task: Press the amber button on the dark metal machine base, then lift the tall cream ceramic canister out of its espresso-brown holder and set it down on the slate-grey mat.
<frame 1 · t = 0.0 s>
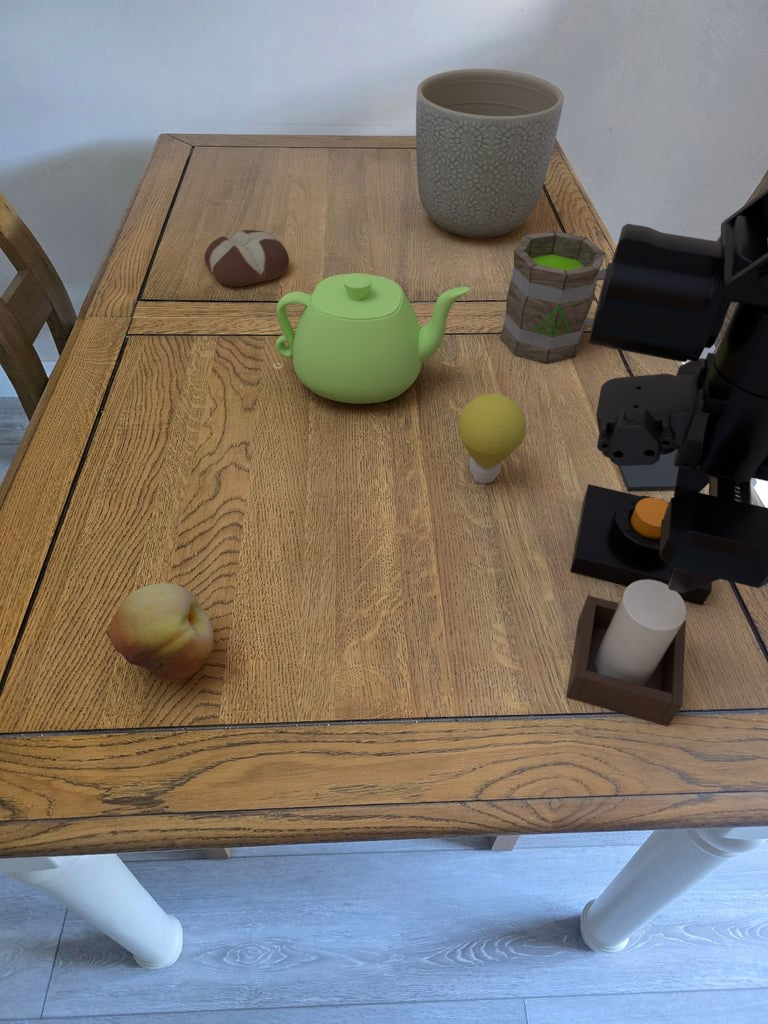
hand: (678, 542, 53), 12 cm above the table, tool pointing down, fingers open, 9 cm apart
canister: (622, 666, 59), resting on holder
bread: (248, 270, 103), on the table
planter: (475, 223, 114), on the table
mat: (652, 465, 76), on the table
mug: (559, 341, 92), on the table
fruit: (173, 660, 59), on the table
button: (653, 518, 65), point 4 cm above the table, slide at 0.1 cm
machine base: (639, 548, 68), on the table
teapot: (368, 379, 86), on the table
holder: (621, 669, 59), on the table
light bulb: (483, 477, 75), on the table
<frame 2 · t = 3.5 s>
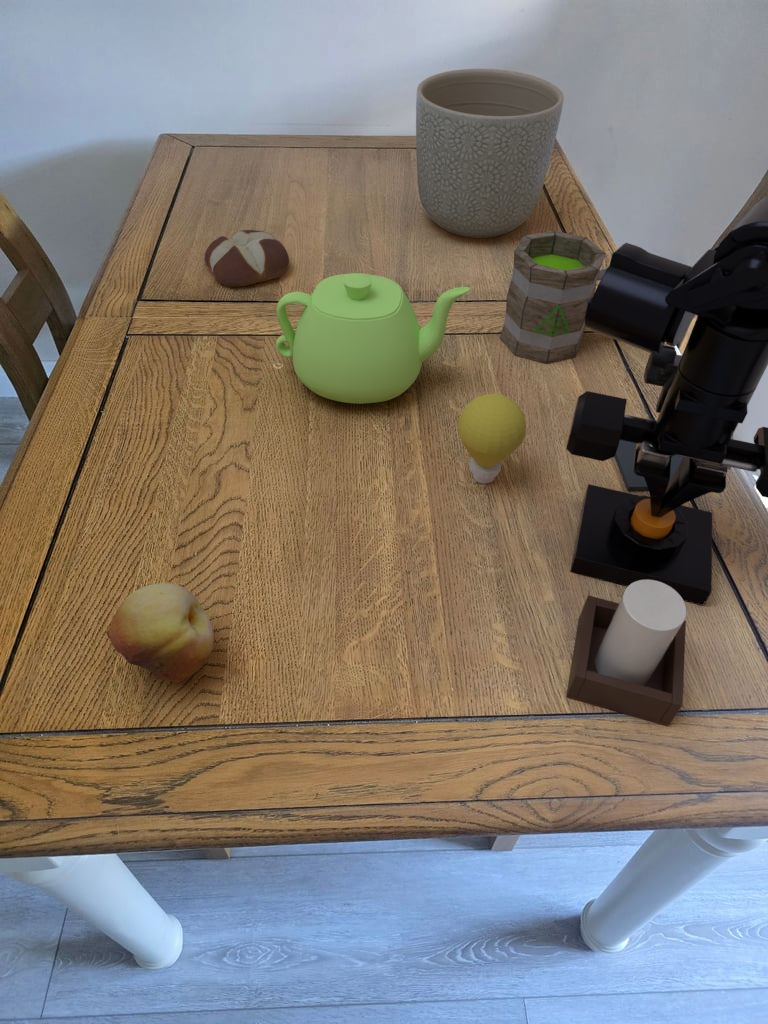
hand: (655, 513, 64), 5 cm above the table, tool pointing down, fingers closed, pressing on button
button: (652, 519, 65), point 4 cm above the table, slide at -0.1 cm, touching gripper
everything else where it was.
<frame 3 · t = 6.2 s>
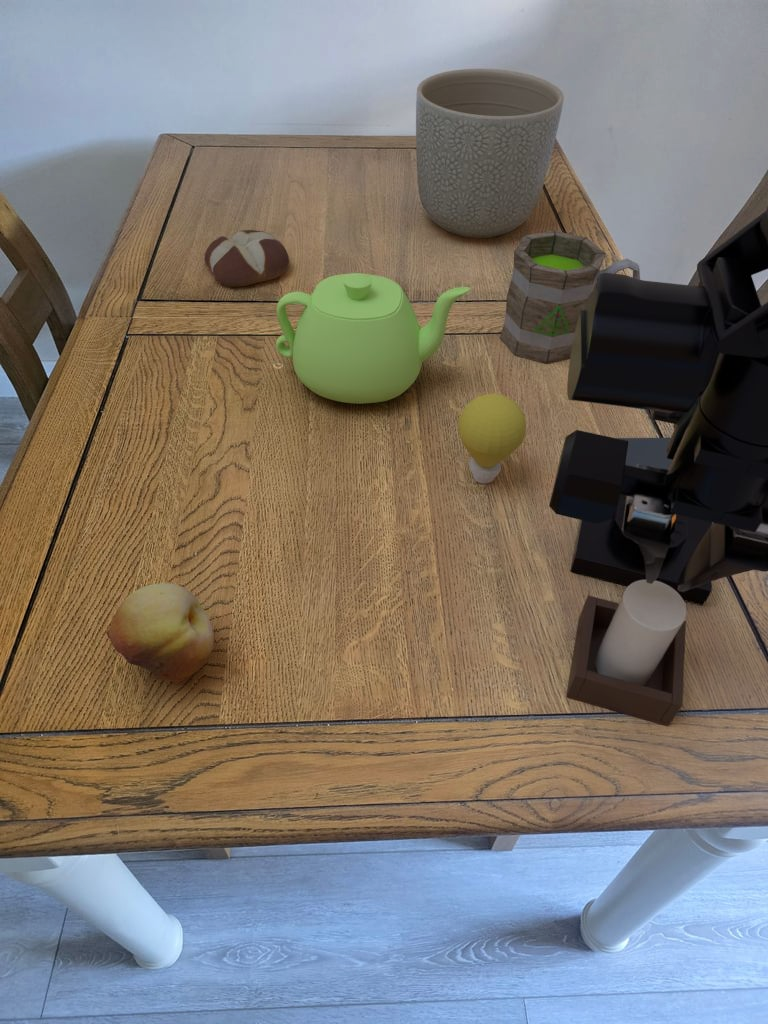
hand: (664, 582, 51), 12 cm above the table, tool pointing down, fingers closed
button: (653, 518, 65), point 4 cm above the table, slide at 0.1 cm
everything else where it was.
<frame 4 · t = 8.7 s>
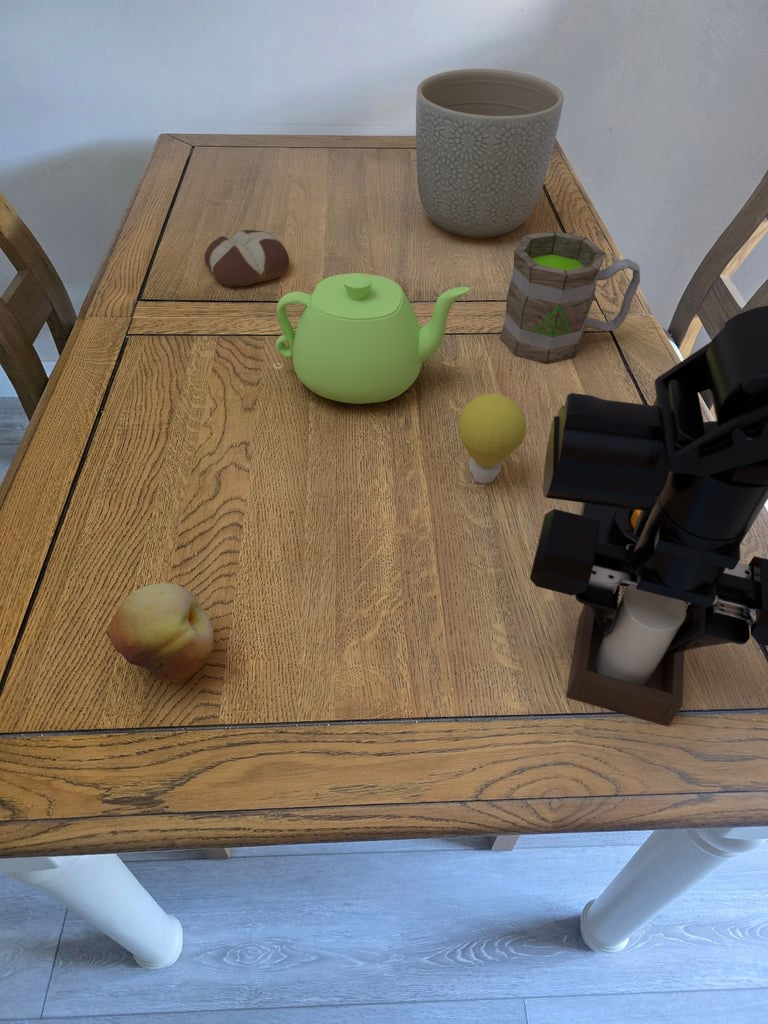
hand: (636, 640, 56), 5 cm above the table, tool pointing down, fingers closed on canister, 4 cm apart
canister: (622, 666, 59), point 1 cm above the table, touching gripper, holder
everything else where it was.
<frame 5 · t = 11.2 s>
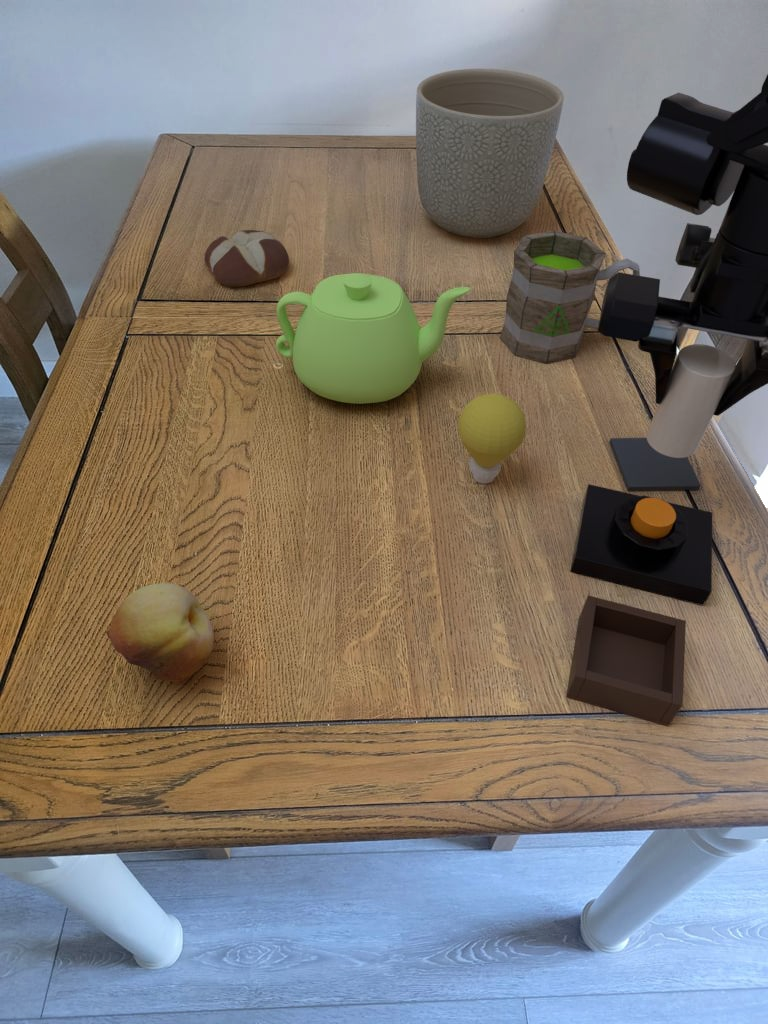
hand: (686, 406, 62), 13 cm above the table, tool pointing down, fingers closed on canister, 4 cm apart
canister: (671, 441, 65), point 9 cm above the table, touching gripper
everything else where it was.
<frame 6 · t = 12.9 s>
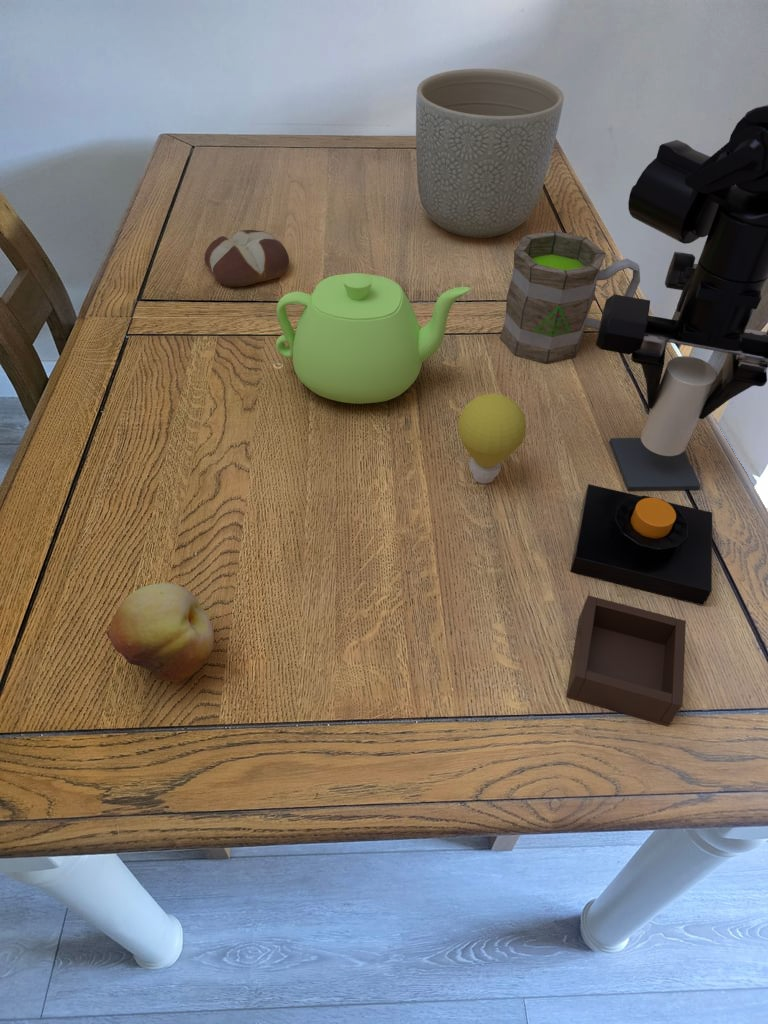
hand: (675, 411, 71), 8 cm above the table, tool pointing down, fingers closed on canister, 4 cm apart
canister: (663, 441, 74), point 4 cm above the table, touching gripper
everything else where it was.
when the fingers open (5 cm above the table, at t = 14.1 s): canister stays where it is, resting on mat.
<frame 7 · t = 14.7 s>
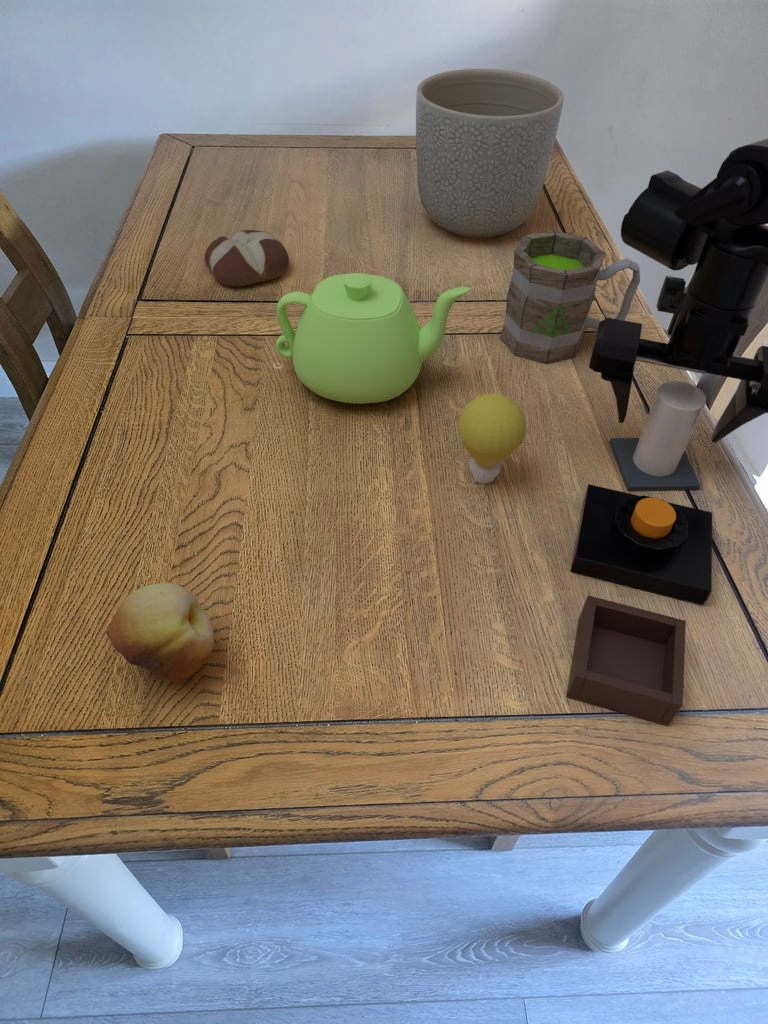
hand: (666, 430, 73), 5 cm above the table, tool pointing down, fingers open, 9 cm apart
canister: (654, 461, 76), point 1 cm above the table, touching mat
everything else where it was.
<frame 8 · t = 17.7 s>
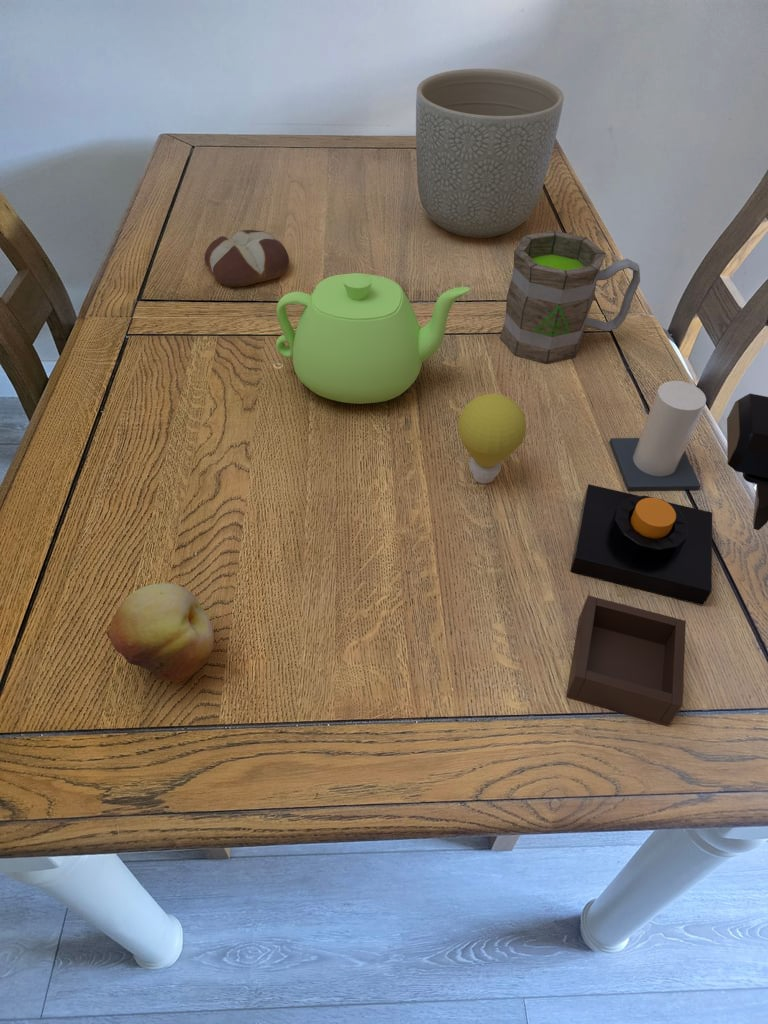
nothing on the table moved.
at the end: button pushed in 1.1 cm at the most during the clip, back to where it started at the end; button slide at 0.1 cm; canister 0.1 cm off-centre on the mat, point 0.6 cm above the mat's base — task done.
